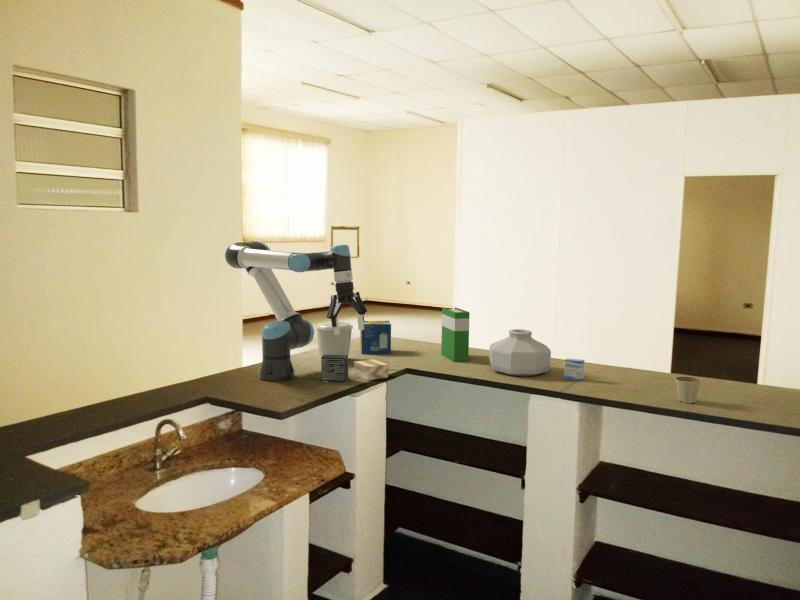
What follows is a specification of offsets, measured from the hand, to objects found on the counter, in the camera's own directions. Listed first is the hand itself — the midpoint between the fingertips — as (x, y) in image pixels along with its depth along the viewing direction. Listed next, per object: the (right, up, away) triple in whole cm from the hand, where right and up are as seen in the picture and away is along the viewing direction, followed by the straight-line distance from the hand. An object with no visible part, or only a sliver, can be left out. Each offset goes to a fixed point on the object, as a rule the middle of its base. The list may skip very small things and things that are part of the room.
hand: (349, 332), depth 273 cm
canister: (-10, -16, +40) cm, 44 cm away
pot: (+75, -19, +21) cm, 80 cm away
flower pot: (+130, -25, -26) cm, 135 cm away
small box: (-6, -20, +1) cm, 21 cm away
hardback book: (+48, -15, +48) cm, 70 cm away
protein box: (+9, -13, +61) cm, 63 cm away
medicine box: (+96, -21, +7) cm, 99 cm away
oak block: (+9, -20, +9) cm, 23 cm away
